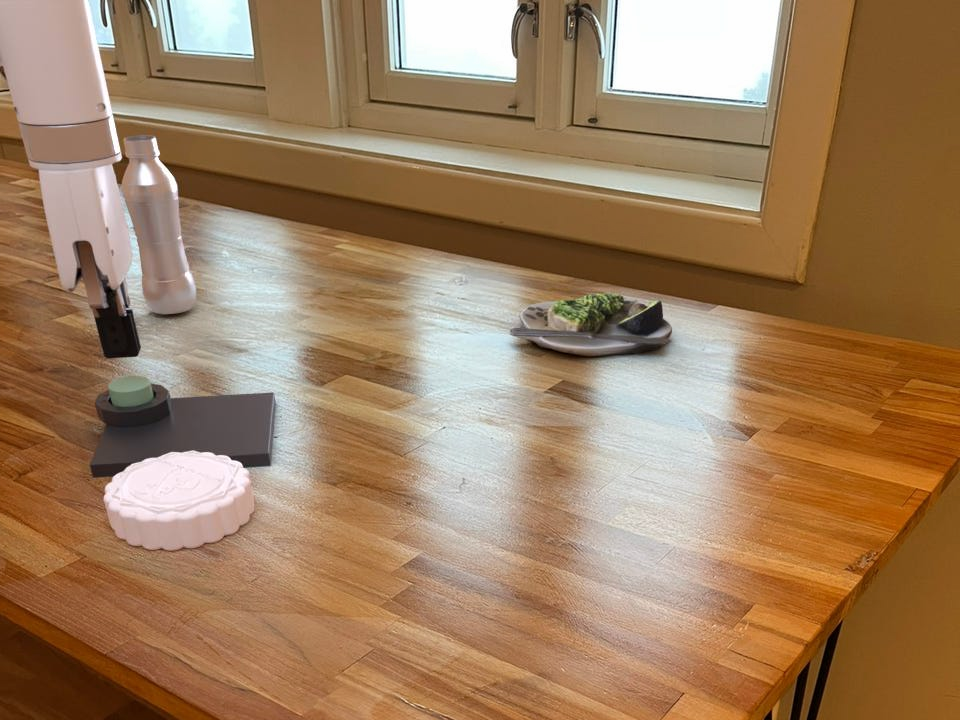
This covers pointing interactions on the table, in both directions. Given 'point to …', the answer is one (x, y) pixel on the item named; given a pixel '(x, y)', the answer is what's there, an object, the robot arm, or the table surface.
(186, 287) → the plastic bottle
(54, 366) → the table surface
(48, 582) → the table surface
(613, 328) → the salad plate
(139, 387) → the button
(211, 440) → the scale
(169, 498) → the mooncake
